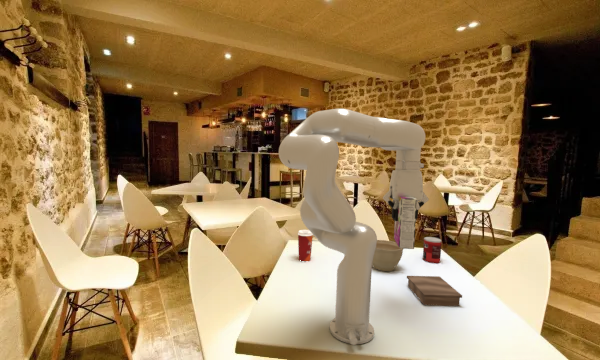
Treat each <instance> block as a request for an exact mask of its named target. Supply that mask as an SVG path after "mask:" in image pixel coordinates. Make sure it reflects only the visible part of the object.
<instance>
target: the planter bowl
mask: <svg viewBox="0 0 600 360" xmlns="http://www.w3.org/2000/svg"><path fill="white" fill-rule="evenodd" d="M403 252H404V249H403V248H399V247H398V245H397V243H396V241H393V240H392V241H391V240H384V239H383V240H382V239H377V244H376V249H375V252H374V257H373V262H372V268H374V269H375V270H379V271H382V272H392V271H394V270H395V267H396V266H397V265H398V264H399V263H400V261H401V259H402V257H403V254H404V253H403Z"/></svg>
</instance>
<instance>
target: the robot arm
mask: <svg viewBox="0 0 600 360" xmlns="http://www.w3.org/2000/svg"><path fill="white" fill-rule="evenodd" d="M425 142H426V133H425V130H424V129H423V127H422V126H421V125H420V124H418V123H414V122H410V121H408V120H401V119H392V118H386V117H378V116H371V115H368V114H365V113H361V112H358V111H356V110H355V111H354V110H352V109H347V108H333V109H326V110H319V111H316V112H314V113H311V114H310V115H309V116H308V117H307V118H305V119H304V120H303V121H302V122H301V123H300V124H299V125H298V126H296V127H295V128H294V129H293V130H292V131H290V132H289V134H287V135H286V136H285V137H284V138H283V140H282V141H281V143H280V145H279V147H278V157H279V159H280V162H281V163H282V164H283V165H284V166H285V167H287V168H289V169H293V170H304V171H306V172H305V177H304V180H303V181H304V182H303V188H302V195H303V198H304V199H303V200H302V202H301V204H300V210H299V213H300V217H301V221H302V223H303V224H304V226H305V227H306V228H307V230H310V232H311V233H312V234H313V237H315V239H317V240H318V242H319V243H320V244H322V245H323V246H324V247H325V248H328V249H331V250H334V251H336V252H338V253H341V254H343V255H344V256H343V259H342V260H341V261H340V262H339V264H338V266H337V270H336V271H337V272H336V294H335V295H336V296H335V318H333V319H332V320H331V321H330V323H329V331H330V333H331V335H332V336H333V337H334V338H335V339H337V340H338V341H341V342H342V343H346V344H349V345H350V344H351V345H352V346H355V345H362V344H363V345H364V344H366V343H368V342H370V341H372V340H373V338H374V336H375V328H374V326H373V325H372V324H371V322H370V312H371V311H370V308H371V293H372V292H371V287H372V270H373V264H372V262H373V257H374V252H375V249H376V244H377V240H378V236H377V233H376V231H375V230H374V229H373V228H372V227H371V226H370V225H368V224H366V223H364V222H359V221H357V218H356V217H357V215H356V213H355V210H354V208H353V207H352V205H351V204H350V203H349V201H348V200H347V198H346V197H345V195H344V194H343V192H342V191H341V189H340V188H339V186H338V185H337V182H336V173H337V168H338V163H339V159H340V149H339V145H338V143H343V144H348V145H349V144H350V145H354V146H359V147H360V146H361V147H364V148H381V149H382V150H385V151H395V152H396V153H395V154H396V155H395V170H394V169H393V170H392V172H391V177H390V182H389V188H388V189H389V190H388V191H386V193H385V194H384V195H383V197H382V199H383V200H384V201H385V202H386V203H387V204H388V205H389V206H390V208H391V219H392V220H393V221H394V222H395V221H398V209H397V206H398V204H399V199H400V197H414V198H416V199H417V202H416V221H417V220H418V218H419V217H418V216H419V210H421V208H422V207H423V206H424V205H425V204H426V203H427V202H429V200H430V199H429V197H428V196H427V194H425V192H424V183H423V182H424V180H423V175H422V171H421V169H422V168H424V166H425V164H424V163H421V152H422V147H423V146H424V144H425ZM391 199H392V200H391Z"/></svg>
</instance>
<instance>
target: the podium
mask: <svg viewBox="0 0 600 360" xmlns="http://www.w3.org/2000/svg"><path fill="white" fill-rule="evenodd" d="M406 279H408V281H407V286H408V288H409V289H410V290H411V291H412V293H413V294H414V296H416V298H418V299H419V301H420V302H421V303H422V304H423V306H434V307H435V306H439V307H441V306H443V307H447V306H448V307H460V301H461V299H462V298H463V294H461V293H460V292H459V291H458V290H456V289H455V288H454V287H453V286H452V285H450V284H449V283H448V282H447V281H445V279H443V278H442V277H441V276H436V275H434V276H431V275H430V276H429V275H406ZM460 298H461V299H460Z"/></svg>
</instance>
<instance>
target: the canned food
mask: <svg viewBox="0 0 600 360" xmlns="http://www.w3.org/2000/svg"><path fill="white" fill-rule="evenodd" d="M422 250H423V251H422V260H423V261H424V262H426V263H429V264H439V263H440V262H441V258H442V257H441V256H442V255H441V254H442V239H440V238H439V237H434V236H433V237H432V236H426V237H424V238H423V249H422Z"/></svg>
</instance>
